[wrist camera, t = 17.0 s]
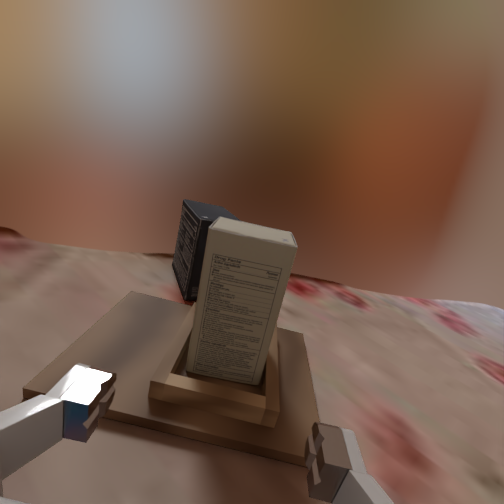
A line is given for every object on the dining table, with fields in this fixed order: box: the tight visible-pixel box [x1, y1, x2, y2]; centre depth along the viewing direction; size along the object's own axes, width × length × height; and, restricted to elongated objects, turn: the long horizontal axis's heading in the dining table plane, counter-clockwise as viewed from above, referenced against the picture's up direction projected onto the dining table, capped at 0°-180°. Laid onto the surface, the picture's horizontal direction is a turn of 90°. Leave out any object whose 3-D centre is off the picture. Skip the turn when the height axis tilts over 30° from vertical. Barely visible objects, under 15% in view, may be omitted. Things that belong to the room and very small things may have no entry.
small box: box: [172, 199, 240, 300], centre depth 37 cm, size 11×6×10 cm, turn 24°
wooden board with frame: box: [23, 291, 320, 467], centre depth 24 cm, size 20×14×2 cm
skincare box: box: [186, 217, 297, 385], centre depth 22 cm, size 6×4×12 cm
